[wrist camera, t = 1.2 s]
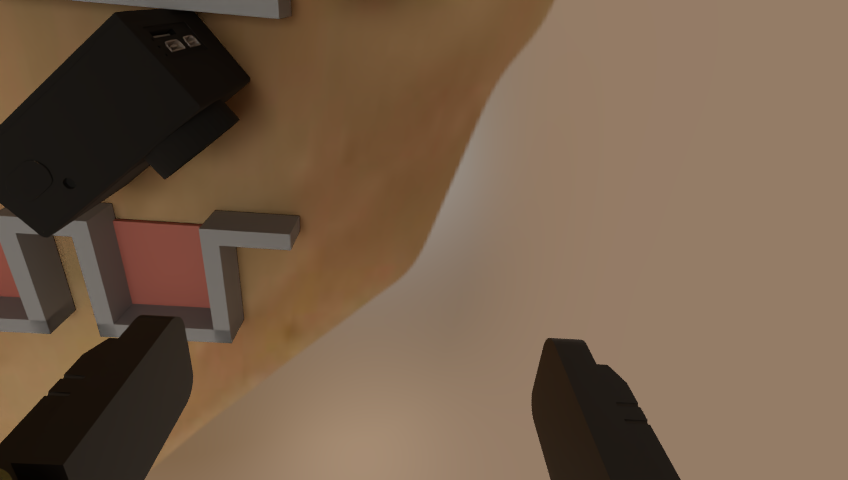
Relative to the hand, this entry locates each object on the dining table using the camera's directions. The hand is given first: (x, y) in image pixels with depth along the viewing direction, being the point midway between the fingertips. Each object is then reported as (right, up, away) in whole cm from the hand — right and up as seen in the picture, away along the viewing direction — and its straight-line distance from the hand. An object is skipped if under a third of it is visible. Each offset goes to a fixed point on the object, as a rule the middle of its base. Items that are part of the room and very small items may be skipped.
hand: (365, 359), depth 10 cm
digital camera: (-13, +10, +16) cm, 23 cm away
